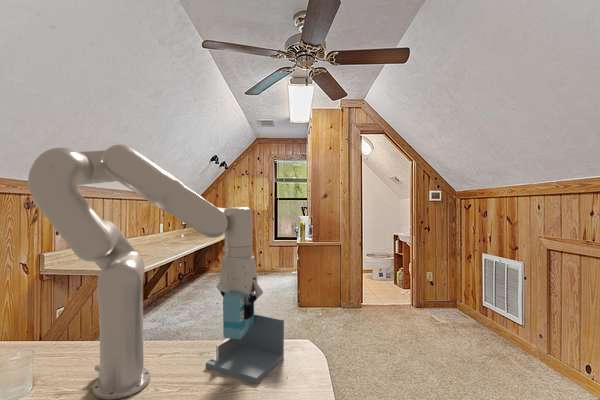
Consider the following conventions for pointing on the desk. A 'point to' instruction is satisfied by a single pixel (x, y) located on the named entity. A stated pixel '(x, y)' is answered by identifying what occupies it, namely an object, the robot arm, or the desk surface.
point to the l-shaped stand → (255, 351)
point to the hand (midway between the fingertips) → (239, 315)
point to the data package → (235, 316)
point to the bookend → (226, 349)
